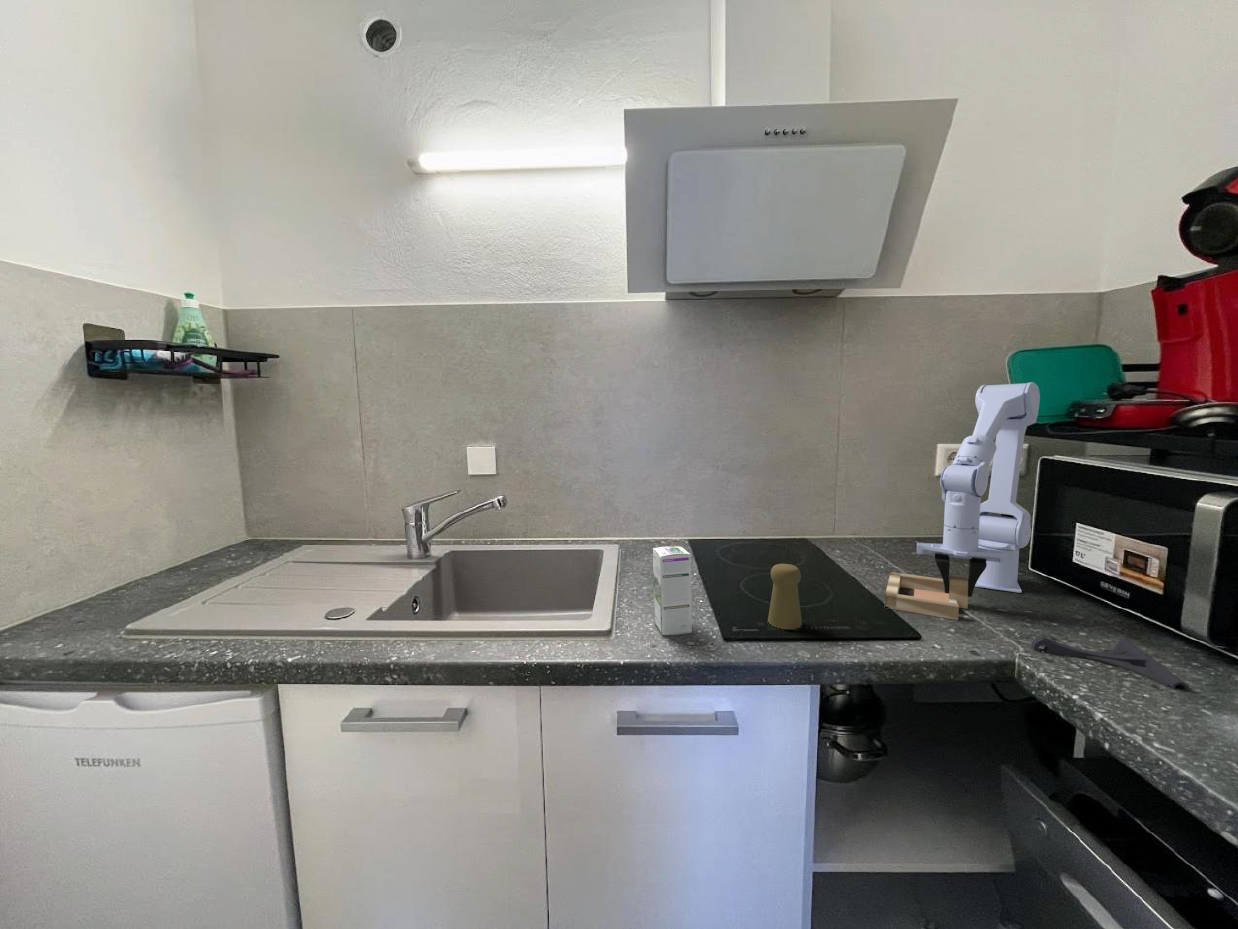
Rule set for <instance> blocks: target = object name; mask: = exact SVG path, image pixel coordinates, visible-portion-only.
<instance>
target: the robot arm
mask: <svg viewBox="0 0 1238 929" xmlns="http://www.w3.org/2000/svg"><path fill="white" fill-rule="evenodd" d="M1040 400H1041V394H1040V388H1039V386H1038V384H1036V382H1034V381H1031V382H1026V383H1024V382H1023V383H1010V384H1009V383H1007V384H1005V383H1004V384H989V385H988V384H982V385H980V386H979V388H978V389H977V391H976V394H975V399H974V401H975V408H976V411H977V413H978V417H977V420H976V424H975V427H974V430H973V432H972V435H969V436H967V437H965V438H964V439H963V440H962V442H961V444H960V447H959V449H958V451H957V453H956V456H955V457H954V459H953V462H952V464H950V465H948V466H945V467H943V469H942V471H941V474H940V479H939V487H940V489H941V490H940V491H941V499H942V501H943V502H944V515H943V516H944V517H943V520H944V521H943V535H942V536H943V537H942V543H928V542H926V543H925V542H916V554H917V555H931V556H934V561H935V564H936V566H937V568H938V570H939V573H940V576H941V579H943V582H944V587H945V593H948V594H949V575H950V567H951V566H950V565H951V563H950V562H951V561H950V559H951V558H958V559H959V558H960V559H966V560H968V576H967V578H968V598H969V597H971V598H972V597H973V592H974V589H975V587H976V588H982V589H983V588H985V589H991V590H999V591H1004V592H1012V593H1022V589H1021V587H1020V585H1019V583H1018V575H1019V574H1018V573H1019V558H1020V557H1019V556H1020V549H1022V548H1023V549H1024V548H1025V547H1026V546H1028V544H1029V542H1030V540H1031V535H1032V526H1031V520H1032V517H1031V514H1030V513H1029V511H1028V510H1027V509H1026V508H1024V507H1023V506H1021V505H1020V504H1019V503H1017V494H1018V488H1019V479H1020V471H1021V463H1022V457H1023V456H1022V455H1023V447H1024V441H1025V439H1024V438H1025V435H1026V431H1027V428H1028V427H1029V426H1031V425H1034V424H1036V423H1037V418H1038V416H1039V409H1040ZM994 440H995V441H994ZM991 463H992V466H991ZM990 466H991V467H992V469H991V474H990V470H989V467H990ZM990 475H991V476H990ZM989 477H990V482H988V481H989ZM988 483H990V484H989V490H988V491H989V492H988V498H987V500H985V501H983V502H982V496H983V495H984V494H985V492H986V491H987V487H988ZM997 514H999V515H997ZM1001 515H1002V516H1001ZM1004 515H1008V516H1004ZM1009 516H1013V517H1009Z"/></svg>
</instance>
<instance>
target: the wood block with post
mask: <svg viewBox="0 0 1238 929" xmlns="http://www.w3.org/2000/svg"><path fill="white" fill-rule="evenodd" d="M948 595H949V602H952V603H958V605H959V608H960V609H967V610H968V604H969V603H968V602H969V596H968V576H964V575H963V576H962V575H953V574H949V594H948Z"/></svg>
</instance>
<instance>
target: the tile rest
mask: <svg viewBox="0 0 1238 929" xmlns="http://www.w3.org/2000/svg"><path fill="white" fill-rule="evenodd" d="M887 581H888V582H887V585H886V590H885V594H884V607H885V606H886V607H889V608H890V609H891V610H897V611H901V612H908V613H913V614H914V613H915V614H918V615H919V614H920V615H925V616H931V617H937V618H944V619H949V620H954V621H955V620H957V621H959V605H958V603H952V602H945V601H939V600H932V599H926V598H919V597H914V595H912V596H911V595H907V594H906V595H905V594H900V590H901V589H900V588H905V589H911V590H914V589H919V590H926V591H933V592H940V593H945V587H944V582H943V579H942V578H938V577H931V576H930V577H929V576H924V575H915V574H907V573H902V572H901V573H899V572H893V571H890V573H889V577H888V580H887ZM947 594H948V593H947ZM889 608H888V609H889Z"/></svg>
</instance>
